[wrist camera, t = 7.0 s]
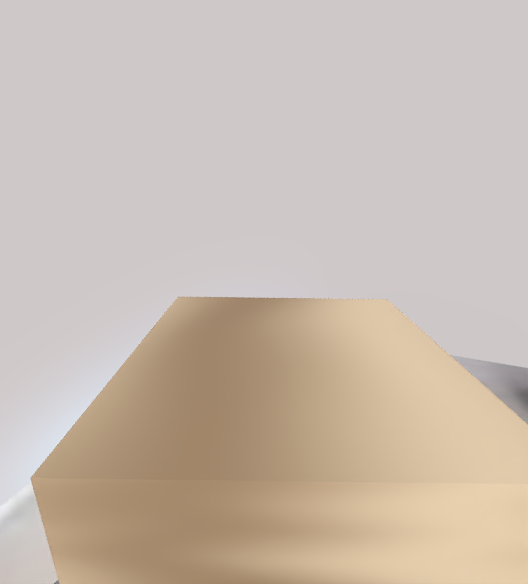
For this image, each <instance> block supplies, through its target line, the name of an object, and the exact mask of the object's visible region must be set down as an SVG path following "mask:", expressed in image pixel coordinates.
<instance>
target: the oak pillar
mask: <svg viewBox="0 0 528 584" xmlns="http://www.w3.org/2000/svg"><path fill="white" fill-rule="evenodd" d="M31 482H32V485H33V489H34V493H35V496H36V500H37V503H38V507H39V511H40V514H41V518H42V522H43V525H44V529H45V533H46V536H47V540H48V543H49V547H50V551H51V554H52V558H53V562H54V565H55V569H56V572H57V576H58V580H59V583H60V584H528V424H527V423H526V422H524V421H523V420H522V419H521V418H520V417H519V416H518V415H517V414H515V413H514V412H513V411H512V410H511V409H510V408H509V407H508V406H506V405H505V404H504V403H503V402H502V401H501V400H500V399H499V398H497V397H496V396H495V395H494V394H493V393H492V392H491V391H490V390H488V389H487V388H486V387H485V386H484V385H483V384H482V383H481V382H479V381H478V380H477V379H476V378H475V377H474V376H473V375H472V374H470V373H469V372H468V371H467V370H466V369H465V368H464V367H463V366H461V365H460V364H459V363H458V362H457V361H456V360H455V359H454V358H452V357H451V356H450V355H449V354H448V353H447V352H446V351H445V350H443V349H442V348H441V347H440V346H439V345H438V344H437V343H436V342H435V341H433V340H432V339H431V338H430V337H429V336H428V335H427V334H425V333H424V332H423V331H422V330H421V329H420V328H419V327H418V326H417V325H415V324H414V323H413V322H412V321H411V320H410V319H409V318H407V317H406V316H405V315H404V314H403V313H402V312H401V311H400V310H398V309H397V308H396V307H395V306H394V305H393V304H392V303H391V302H390V301H388V300H385V299H311V298H310V299H309V298H235V297H177V299H176V300H175V301H174V302H173V304H172V305H171V306H170V307H169V309H168V310H167V311H166V312H165V313H164V315H163V316H162V317H161V318H160V320H159V321H158V322H157V323H156V325H155V326H154V327H153V328H152V329H151V331H150V332H149V333H148V334H147V336H146V337H145V338H144V339H143V340H142V342H141V343H140V344H139V345H138V347H137V348H136V349H135V350H134V352H133V353H132V354H131V355H130V357H129V358H128V359H127V360H126V361H125V363H124V364H123V365H122V366H121V368H120V369H119V370H118V372H117V373H116V374H115V375H114V376H113V377H112V379H111V380H110V381H109V382H108V384H107V385H106V386H105V387H104V388H103V390H102V391H101V392H100V393H99V395H98V396H97V397H96V398H95V400H94V401H93V402H92V403H91V404H90V406H89V407H88V408H87V409H86V411H85V412H84V413H83V414H82V415H81V417H80V418H79V419H78V420H77V422H76V423H75V424H74V425H73V427H72V428H71V429H70V430H69V431H68V433H67V434H66V435H65V436H64V438H63V439H62V440H61V441H60V443H59V444H58V445H57V446H56V448H55V449H54V450H53V451H52V453H51V454H50V455H49V456H48V457H47V459H46V460H45V461H44V462H43V463H42V465H41V466H40V467H39V468H38V470H37V471H36V472H35V473H34V474H33V476H32V477H31Z"/></svg>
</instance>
